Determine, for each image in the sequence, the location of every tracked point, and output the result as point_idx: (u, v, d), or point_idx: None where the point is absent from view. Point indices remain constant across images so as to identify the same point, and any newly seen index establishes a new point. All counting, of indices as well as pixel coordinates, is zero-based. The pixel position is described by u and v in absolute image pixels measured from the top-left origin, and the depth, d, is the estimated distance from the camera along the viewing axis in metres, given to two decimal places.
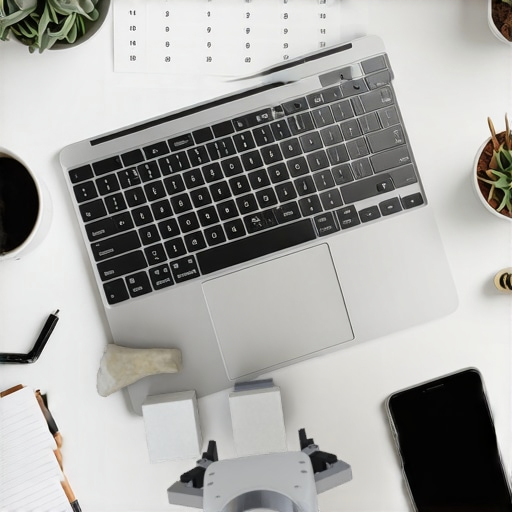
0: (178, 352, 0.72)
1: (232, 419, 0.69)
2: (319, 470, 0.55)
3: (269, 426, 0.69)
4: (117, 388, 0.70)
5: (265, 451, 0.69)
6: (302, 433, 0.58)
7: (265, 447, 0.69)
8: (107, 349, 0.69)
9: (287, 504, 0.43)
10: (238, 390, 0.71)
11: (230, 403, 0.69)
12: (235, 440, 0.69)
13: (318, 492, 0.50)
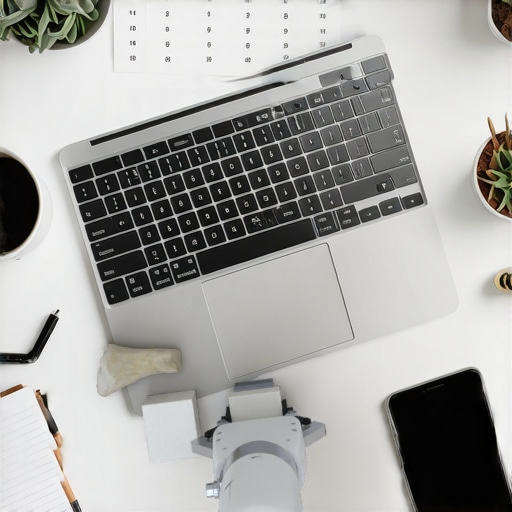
0: (178, 352, 0.72)
1: (232, 419, 0.69)
2: None
3: None
4: (117, 388, 0.70)
5: None
6: (283, 402, 0.71)
7: None
8: (107, 349, 0.69)
9: (280, 451, 0.54)
10: (238, 390, 0.71)
11: (230, 403, 0.69)
12: None
13: None
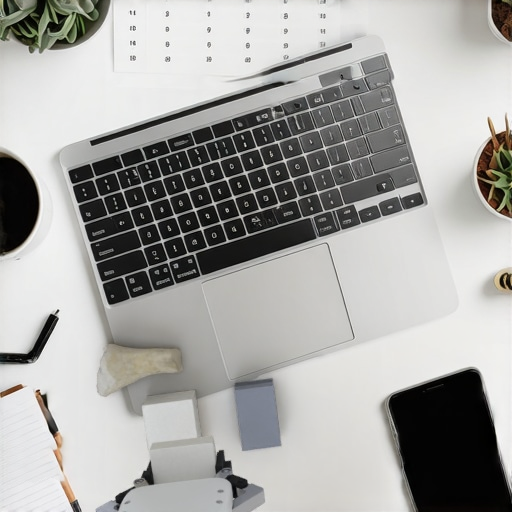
0: (178, 352, 0.72)
1: (154, 477, 0.56)
2: None
3: None
4: (117, 388, 0.70)
5: None
6: (219, 455, 0.58)
7: None
8: (107, 349, 0.69)
9: None
10: (238, 390, 0.71)
11: (151, 457, 0.56)
12: None
13: None
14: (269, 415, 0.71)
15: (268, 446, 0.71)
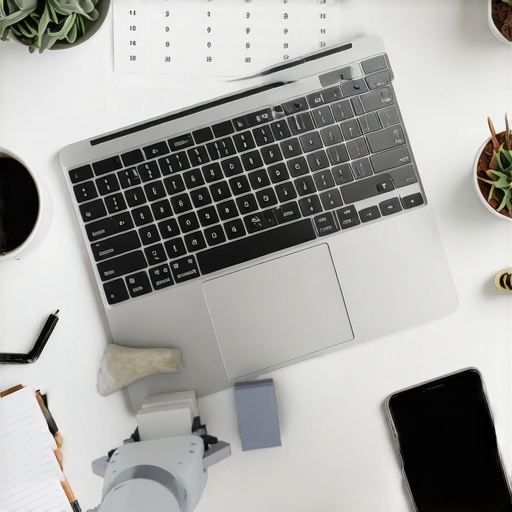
0: (178, 352, 0.72)
1: (140, 437, 0.67)
2: None
3: None
4: (117, 388, 0.70)
5: None
6: (195, 420, 0.69)
7: None
8: (107, 349, 0.69)
9: (164, 476, 0.52)
10: (238, 390, 0.71)
11: (138, 421, 0.67)
12: None
13: (205, 469, 0.60)
14: (269, 415, 0.71)
15: (268, 446, 0.71)
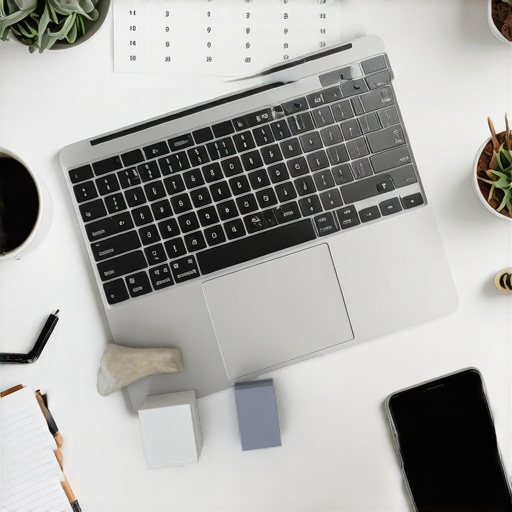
0: (178, 352, 0.72)
1: (142, 432, 0.68)
2: None
3: (179, 440, 0.68)
4: (117, 388, 0.70)
5: (175, 464, 0.69)
6: None
7: (175, 460, 0.69)
8: (107, 348, 0.69)
9: None
10: (238, 390, 0.71)
11: (140, 416, 0.68)
12: (145, 453, 0.69)
13: None
14: (269, 415, 0.71)
15: (268, 446, 0.71)
